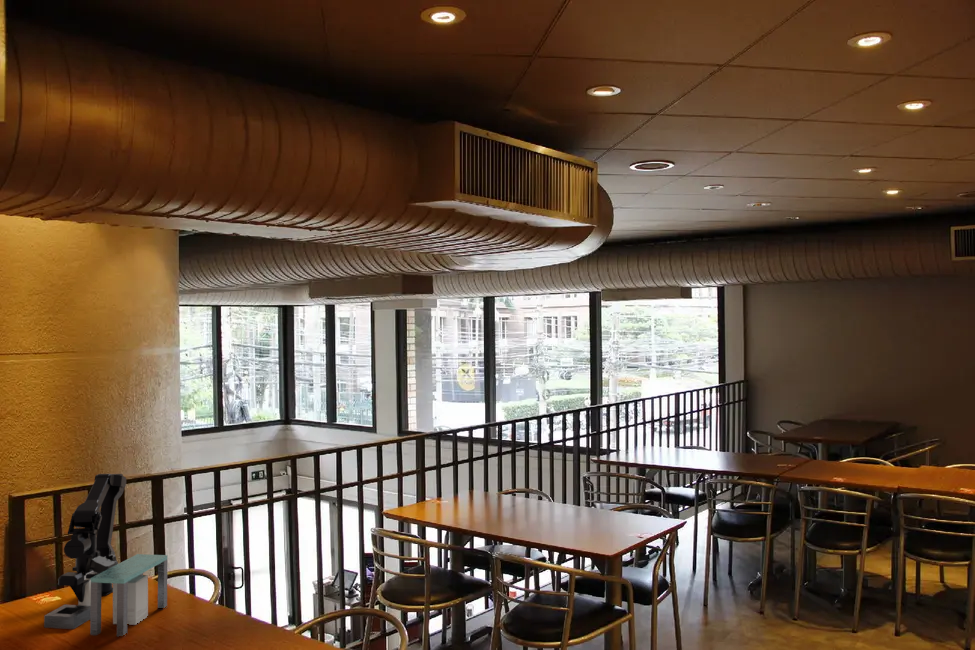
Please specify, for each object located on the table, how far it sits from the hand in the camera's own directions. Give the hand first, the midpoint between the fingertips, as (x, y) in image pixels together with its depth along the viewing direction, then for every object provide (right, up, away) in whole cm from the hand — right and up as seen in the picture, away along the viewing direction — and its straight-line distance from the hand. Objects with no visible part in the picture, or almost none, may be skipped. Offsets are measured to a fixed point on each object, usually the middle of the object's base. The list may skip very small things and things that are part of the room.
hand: (85, 599), depth 245 cm
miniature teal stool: (+18, -3, -9) cm, 20 cm away
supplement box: (+18, -3, -9) cm, 20 cm away
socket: (+1, -3, -11) cm, 11 cm away
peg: (0, -2, 0) cm, 2 cm away
